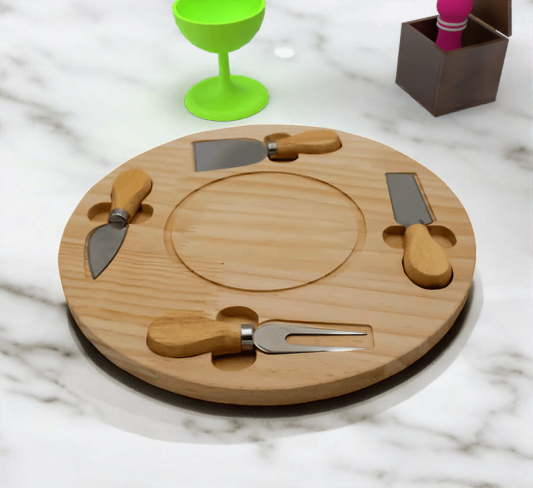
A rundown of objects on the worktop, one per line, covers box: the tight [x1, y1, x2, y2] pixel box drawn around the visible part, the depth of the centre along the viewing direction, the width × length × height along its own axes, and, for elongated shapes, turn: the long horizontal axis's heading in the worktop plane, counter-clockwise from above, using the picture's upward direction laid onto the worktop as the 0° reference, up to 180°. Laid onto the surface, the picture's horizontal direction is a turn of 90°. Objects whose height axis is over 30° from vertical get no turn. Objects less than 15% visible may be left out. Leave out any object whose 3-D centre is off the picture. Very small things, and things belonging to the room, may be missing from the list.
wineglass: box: [171, 0, 270, 122], centre depth 117 cm, size 16×16×18 cm
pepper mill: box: [435, 0, 473, 52], centre depth 114 cm, size 7×7×20 cm
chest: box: [395, 14, 510, 118], centre depth 118 cm, size 13×14×12 cm
